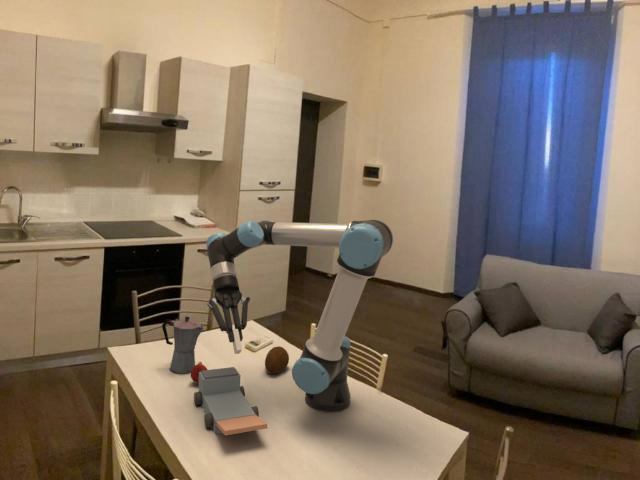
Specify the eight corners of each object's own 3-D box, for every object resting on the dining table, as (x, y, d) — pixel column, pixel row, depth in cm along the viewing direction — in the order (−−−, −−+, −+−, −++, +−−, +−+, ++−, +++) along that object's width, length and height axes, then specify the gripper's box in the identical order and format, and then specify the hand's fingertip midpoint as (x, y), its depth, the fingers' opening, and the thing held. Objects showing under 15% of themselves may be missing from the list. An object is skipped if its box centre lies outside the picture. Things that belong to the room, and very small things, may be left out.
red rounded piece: (203, 388, 180) (204, 366, 178) (187, 386, 181) (188, 364, 180) (210, 381, 186) (211, 360, 184) (194, 378, 187) (195, 357, 185)
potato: (255, 372, 196) (256, 349, 194) (275, 362, 206) (276, 340, 204) (273, 379, 191) (275, 356, 190) (293, 368, 201) (294, 346, 200)
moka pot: (199, 376, 189) (201, 322, 185) (156, 372, 189) (157, 319, 185) (205, 365, 198) (207, 313, 194) (164, 361, 198) (165, 310, 195)
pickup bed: (192, 398, 173) (193, 371, 171) (239, 392, 179) (240, 365, 178) (208, 434, 153) (210, 403, 152) (260, 425, 160) (262, 395, 158)
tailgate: (215, 421, 153) (225, 430, 144) (255, 414, 158) (267, 423, 149) (215, 427, 153) (225, 437, 144) (255, 420, 158) (267, 429, 149)
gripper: (242, 284, 170) (256, 354, 159) (201, 287, 165) (213, 359, 153) (248, 272, 165) (263, 344, 153) (206, 274, 159) (218, 349, 147)
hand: (238, 351), depth 153 cm, fingers closed
